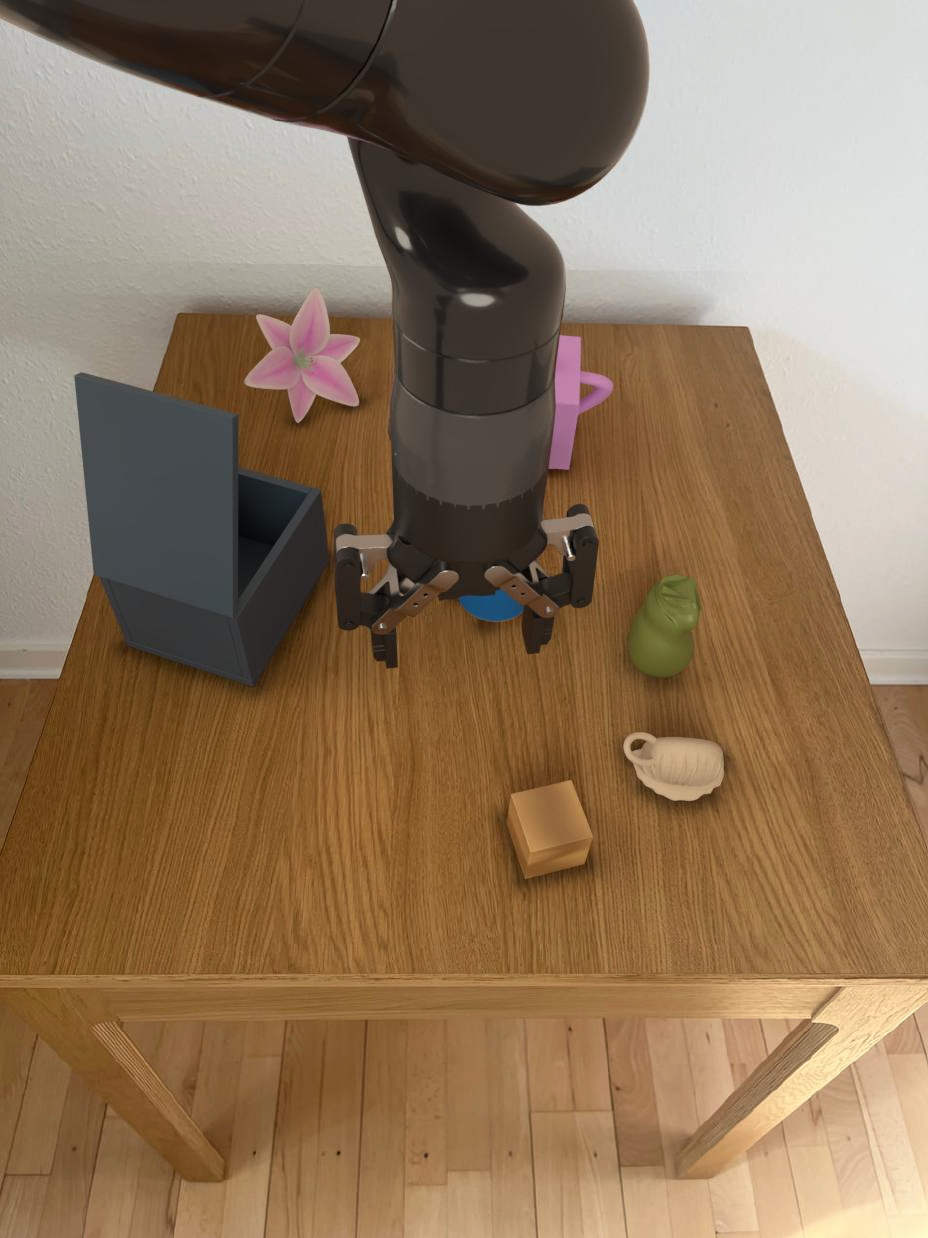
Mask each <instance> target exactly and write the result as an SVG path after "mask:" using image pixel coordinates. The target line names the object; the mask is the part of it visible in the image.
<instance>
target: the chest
mask: <svg viewBox="0 0 928 1238" xmlns="http://www.w3.org/2000/svg"><path fill="white" fill-rule="evenodd" d="M329 555H330V554H329V545H328V537H327V529H326V520H325V511H324V503H323V493H322V490H321V489H320V488H316V487H312V486H309V485H306V484H305V485H304V484H302V483H298V482H295V481H291V480H287V479H283V478H280V477H277V476H273V475H270V474H266V473H262V472H259V471H256V470H251V469H248V468H246V467H245V468H244V467H240V466H238V613H237V614H236V615H235V616H234V617H229V616H226V615H223V614H220V613H217V612H213V611H210V610H207V609H204V608H201V607H197V606H194V605H191V604H188V603H185V602H181V601H178V600H175V599H172V598H169V597H166V596H162V595H159V594H156V593H153V592H150V591H146V590H143V589H140V588H137V587H134V586H130V585H127V584H124V583H121V582H118V581H114V580H111V579H108V578H105V577H102V576H98V578H99V580H100V582H101V585H102V587H103V590H104V592H105V595H106V597H107V599H108V602H109V605H110V607H111V609H112V612H113V614H114V616H115V619H116V622H117V624H118V626H119V629H120V632H121V633H122V634H121V635H122V636H123V639H124V641H125V644H126V646H127V647H130V648H132V649H136V650H139V651H142V652H145V653H148V654H151V655H154V656H157V657H160V658H163V659H167V660H169V661H172V662H175V663H179V664H182V665H185V666H188V667H190V668H194V669H198V670H201V671H203V672H206V673H208V674H209V673H210V674H212V675H215V676H219V677H221V678H225V679H228V680H230V681H233V682H237V683H241V684H244V685H246V686H249V687H252V688H254V686H255V685H256V684H257V682H258V681H259V678H260V677H261V675H263V674H262V673H263V672H264V670H265V669H266V667H267V666H268V664H269V663H270V660H271V659H272V657H273V655H274V654H275V652H276V651H277V649H278V647H279V646H280V644H281V642H282V641H283V639H284V637H285V635H286V634H287V632H288V631H289V629H290V627H291V625H292V624H293V623H294V621H295V619H296V617H297V616H298V615H299V613H300V611H301V609H302V607H303V606H304V604H305V602H306V601H307V599H308V597H309V596H310V594H311V593H312V591H313V589H314V587H316V585H317V583H318V581H319V579H320V578H321V576H322V574H323V573H324V571H325V570H326V568H327V566H328V565H329V563H330V556H329Z"/></svg>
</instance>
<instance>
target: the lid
mask: <svg viewBox="0 0 928 1238" xmlns="http://www.w3.org/2000/svg"><path fill="white" fill-rule="evenodd" d="M73 378H74V389H75V398H76V409H77V419H78V429H79V439H80V450H81V460H82V467H83V468H82V470H83V479H84V489H85V491H84V492H85V502H86V510H87V522H88V531H89V542H90V550H91V561H92V571H93V575H95V576H98V577H99V576H102V577H105V578H108V579H111V580H114V581H118V582H121V583H124V584H127V585H130V586H134V587H137V588H140V589H143V590H146V591H150V592H153V593H156V594H159V595H162V596H166V597H169V598H172V599H175V600H178V601H181V602H185V603H188V604H191V605H194V606H197V607H201V608H204V609H207V610H210V611H213V612H217V613H220V614H223V615H226V616H229V617H234V616H235V615H236V614H237V613H238V467H239V429H240V428H239V423H240V422H239V419H240V417H239V414H238V413H235V412H231V411H227V410H224V409H221V408H217V407H213V406H209V405H205V404H201V403H198V402H194V401H191V400H187V399H183V398H179V397H177V396H176V397H175V396H172V395H168V394H164V393H161V392H157V391H155V390H154V391H153V390H150V389H146V388H142V387H139V386H134V385H132V384H131V385H130V384H128V383H123V382H120V381H116V380H113V379H109V378H105V377H102V376H97V375H94V374H90V373H87V372H83V371H81V372H79V373H75V375H74V376H73Z"/></svg>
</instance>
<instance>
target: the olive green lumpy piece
mask: <svg viewBox="0 0 928 1238" xmlns="http://www.w3.org/2000/svg"><path fill="white" fill-rule="evenodd" d="M701 611H702V606H701V600H700V596H699V591H698V587H697V582H696V579H695V577H694V576H690V577H688V576H687V577H686V576H684V575H680V574H667V575H666V576H664V577H662V579H661V580H660V581H657V582H656V583H654V585H653V586H652V587H651V588H650V590H649V591H648V592H647V595H646V597H645V600H644V603H643V604H642V605H641V606H640V607H639V608H638V609H637V611H636V613H635V615H634V616H633V619H632V622H631V625H630V627H629V631H628V635H627V636H628V637H627V653H628V656H629V659H630V660H631V662H632V664H633V665H634V667H635V668H636V669H637V670H638V671H640V673H642V674H644V675H646V676H649V677H652V678H656V679H657V678H658V679H663V678H670V677H673V676H676V675H678V674H680V673H682V671H684V670H685V669H686V668H687V667H688V666H689V664H690V663H691V661H692V658H693V656H694V651H695V640H694V636H693V633H692V631H693V630H694V629H696V627H697V625H698V622H699V620H700V615H701Z"/></svg>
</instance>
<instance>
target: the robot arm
mask: <svg viewBox="0 0 928 1238" xmlns="http://www.w3.org/2000/svg"><path fill="white" fill-rule="evenodd" d="M0 20H3V21H5V22H6V23H8V24H10V25H13V26H15V27H17V28H19V29H22V30H23V31H26V32H28V33H30V34H32V35H34V36H36V37H39V38H41V39H43V40H45V41H47V42H49V43H51V44H54V45H56V46H59V47H61V48H63V49H66V50H68V51H70V52H72V53H74V54H77V55H78V56H79V55H80V56H82V57H84V58H86V59H89V60H91V61H93V62H96V63H99V64H101V65H103V66H106V67H108V68H111V69H113V70H116V71H118V72H121V73H124V74H127V75H129V76H131V77H135V78H138V79H140V80H143V81H146V82H149V83H152V84H155V85H158V86H161V87H163V88H166V89H170V90H173V91H177V92H180V93H182V94H186V95H190V96H194V97H197V98H200V99H202V100H203V99H204V100H206V101H210V102H213V103H217V104H220V105H223V106H226V107H230V108H233V109H236V110H239V111H242V112H246V113H249V114H253V115H256V116H259V117H263V118H266V119H269V120H272V121H274V122H279V123H284V124H288V125H292V126H297V127H303V128H308V129H315V130H318V131H319V130H320V131H324V132H328V133H331V134H336V135H341V136H344V137H346V140H347V144H348V146H349V147H348V148H349V150H350V154H351V157H352V161H353V165H354V167H355V171H356V176H357V178H358V181H359V185H360V188H361V191H362V196H363V198H364V202H365V205H366V209H367V212H368V215H369V219H370V223H371V226H372V228H373V233H374V237H375V238H376V241H377V244H378V247H379V249H380V253H381V255H382V257H383V260H384V263H385V265H386V268H387V272H388V275H389V278H390V284H391V311H392V312H391V313H392V314H391V315H392V343H393V344H392V345H393V373H392V381H391V389H390V397H389V418H388V424H387V425H388V426H387V434H388V438H389V441H390V455H391V456H390V458H391V478H392V479H391V480H392V505H393V507H392V508H393V519H392V522H391V525H390V526H389V528H388V529H387V530H386V532H385V533H382V534H361V535H358V529H357V528H356V526H355V525H353V524H351V523H341V524H338V525H337V526H336V527H335V528H334V530H333V552H334V553H333V556H334V557H333V558H334V559H333V561H334V593H335V605H336V606H335V607H336V617H337V626H338V628H339V629H340V630H341V631H345V632H346V631H347V632H351V631H354V630H357V629H358V628H359V627H360V626H362V627H366V628H368V629H369V630H370V640H371V649H372V658H373V659H374V661H376V662H385V669H386V670H388V669H397V668H399V661H398V635H397V634H398V633H397V626H399V625H400V624H401V623H402V622H403V621H404V620H405V619H406V618H407V617H410V618H413V619H414V618H416V616H418V615H419V614H420V613H421V612H422V611H423V610H424V609H425V608H426V607H428V605H430V604H431V602H433V601H434V600H435V599H436V598H437V597H438V601H447V600H448V601H449V600H455V599H458V598H459V597H462V596H466V595H471V596H490V595H495V591H497V590H500V589H502V590H503V591H504V592H505V593H507V594H508V595H509V596H510V597H511V598H513V599H514V600H515V601H516V602H517V603H519V604H520V605H521V606H523V607H524V611H523V613H522V620H521V634H522V639H523V642H524V647H525V651H526V654H527V655H536V654H540V653H541V648H542V647H541V646H546V645H548V643H550V641H551V640H552V636H553V635H552V634H553V628H554V624H555V617H556V616H557V615H559V613H560V611H561V610H560V609H561V608H564V607H567V606H569V605H571V607H573V608H574V609H584V608H586V607H588V606H589V605H590V604H591V603H592V602H593V596H594V586H595V579H596V570H597V563H598V562H597V561H598V554H599V546H600V540H599V537H598V534H597V531H596V527H595V524H594V521H593V518H592V515H591V513H590V509H589V507H588V506H587V505H586V504H583V503H575V504H573V505H572V506H570V507H569V508H568V509H567V511H566V514H565V515H566V517H560V518H552V519H544V520H543V518H542V513H543V514H544V506H545V505H544V504H545V497H546V490H547V482H548V475H549V470H550V469H549V461H550V453H551V446H552V439H553V431H554V423H555V412H556V397H555V372H556V362H557V355H558V347H559V339H560V335H561V331H562V323H563V318H564V309H565V301H566V294H567V293H566V292H567V271H566V264H565V259H564V256H563V252H562V251H561V248H560V247H559V245H558V244H557V243H556V241H555V239H553V237H552V236H551V234H550V233H549V232H548V231H547V230H546V229H545V228H544V227H542V225H541V224H540V223H538V222H537V221H535V220H534V219H533V218H532V217H531V216H530V215H529V214H528V213H526V212H525V210H523V209H522V208H521V207H520V206H519V205H521V206H527V207H544V206H551V205H557V204H560V203H563V202H564V203H565V202H567V201H570V200H572V199H573V198H577V197H579V196H580V195H582V194H584V193H585V192H587V191H588V190H590V189H592V188H593V187H594V186H596V185H597V184H599V183H600V182H601V181H602V180H603V179H604V178H605V177H606V176H608V174H609V173H610V172H612V170H613V169H615V167H616V166H617V165H618V163H619V162H620V161H621V160H622V158H623V157H624V155H625V153H626V152H627V151H628V149H629V148H630V146H631V144H632V142H633V141H634V138H635V136H636V134H637V132H638V130H639V128H640V125H641V122H642V120H643V117H644V113H645V109H646V105H647V100H648V94H649V88H650V75H651V74H650V73H651V68H650V67H651V63H650V50H649V43H648V38H647V33H646V30H645V27H644V23H643V19H642V17H641V14H640V11H639V9H638V7H637V4H636V3H635V1H634V0H0ZM548 545H552V546H554V547H555V548H556V551H557V553H558V555H560V556H562V564H561V566H562V567H561V573H558V574H555V575H552V576H551V575H550V574H549V572H547V571H546V570H545V569H544V568H543V567H542V566H541V565H539V564H538V562H537V561H536V562H535V561H534V560H536V559H538V558H539V557H540V556H541V555H542V554H543V553H545V551H546V549H547V546H548ZM383 560H387V561H388V562H389V565H388V567H387V570H386V574H385V576H384V577H383V578H382V579H381V580H379V582H377V584H376V585H375V586H373V587H372V588H371V590H370V591H368V592H364V591H363V592H362V591H361V582H362V581H367V580H369V579H370V574H371V573H372V572H374V570H375V567H376V565H377V563H379V562H380V561H383Z"/></svg>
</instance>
